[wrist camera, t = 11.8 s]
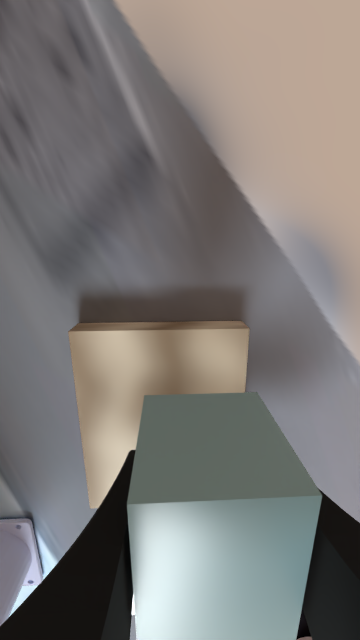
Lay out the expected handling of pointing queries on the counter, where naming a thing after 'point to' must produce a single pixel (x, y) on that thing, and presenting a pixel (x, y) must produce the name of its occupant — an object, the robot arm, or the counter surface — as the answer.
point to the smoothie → (305, 638)
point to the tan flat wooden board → (144, 380)
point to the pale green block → (218, 521)
